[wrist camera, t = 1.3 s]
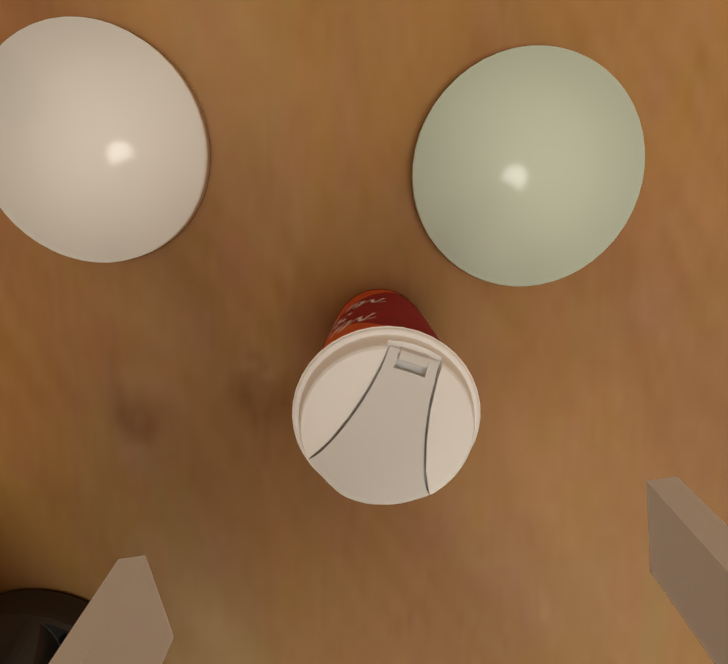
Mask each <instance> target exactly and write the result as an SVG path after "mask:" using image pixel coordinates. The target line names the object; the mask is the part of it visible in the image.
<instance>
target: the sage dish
mask: <svg viewBox="0 0 728 664" xmlns="http://www.w3.org/2000/svg"><path fill="white" fill-rule="evenodd" d="M644 167H645V146H644V137H643V132H642V128H641V124H640V119H639V117H638V114H637V112H636V109H635V107H634V104H633V103H632V101H631V99H630V98H629V96H628V94H627V92H626V91H625V89H624V88H623V87H622V86H621V84H620V83H619V82H618V81H617V79H616V78H615V77H614V76H613V75H611V74H610V73H609V72H608V71H607V70H606V69H605V68H604V67H602V66H601V65H599V64H598V63H596V62H595V61H594V60H592V59H590V58H588V57H586V56H584V55H582V54H580V53H577V52H574V51H571V50H568V49H565V48H560V47H553V46H524V47H517V48H513V49H509V50H506V51H502V52H499V53H497V54H494V55H492V56H490V57H488V58H485V59H483V60H482V61H480V62H478V63H477V64H475V65H473V66H472V67H470V68H469V69H468V70H466V71H465V72H464V73H463V74H461V75H460V76H459V77H458V78H457V79H456V80H455V81H454V82H453V83H452V84H451V85H450V86H449V87H448V88H447V89H446V90H445V91H444V92H443V93H442V95H441V96H440V97H439V98H438V100H437V101H436V102H435V104H434V105H433V107H432V108H431V110H430V112H429V113H428V115H427V117H426V119H425V121H424V123H423V125H422V128H421V130H420V132H419V135H418V138H417V142H416V145H415V149H414V154H413V161H412V177H411V181H412V191H413V198H414V202H415V206H416V210H417V213H418V215H419V218H420V221H421V223H422V225H423V227H424V229H425V231H426V233H427V235H428V236H429V237H430V239H431V240H432V242H433V243H434V244H435V246H436V247H437V248H438V249H439V250H440V251H441V252H442V253H443V254H444V255H445V256H446V257H447V258H448V259H449V260H450V261H451V262H452V263H454V264H455V265H456V266H457V267H459V268H460V269H462V270H464V271H465V272H467V273H469V274H470V275H472V276H475V277H477V278H479V279H482V280H484V281H488V282H491V283H495V284H500V285H507V286H532V285H540V284H544V283H548V282H552V281H555V280H558V279H561V278H563V277H566V276H568V275H570V274H572V273H574V272H576V271H578V270H580V269H581V268H583V267H584V266H586V265H587V264H589V263H590V262H592V261H593V260H594V259H595V258H597V257H598V256H599V255H600V254H601V253H602V252H603V251H604V250H606V248H607V247H608V246H609V245H610V244H611V243H612V242H613V241H614V240H615V238H616V237H617V236H618V234H619V233H620V231H621V230H622V229H623V227H624V226H625V224H626V222H627V220H628V219H629V217H630V215H631V213H632V211H633V209H634V206H635V204H636V201H637V199H638V196H639V192H640V189H641V185H642V181H643V174H644Z"/></svg>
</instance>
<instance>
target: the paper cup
mask: <svg viewBox="0 0 728 664" xmlns="http://www.w3.org/2000/svg"><path fill="white" fill-rule="evenodd" d="M292 420H293V428H294V432H295V436H296V439H297V442H298V445H299V447H300V449H301V451H302V453H303V455H304V456H305V458H306V459H307V460H308V462H309V463H310V465H311V466H312V467H313V468H314V469H315V470H316V471H317V472H318V473H319V474H320V475H321V476H322V477H323V478H324V479H325V480H326V482H327V483H328V484H329V485H331V486H332V487H333V488H334V489H335V490H336V491H337V492H339V493H340V494H341V495H343V496H345V497H347V498H350V499H352V500H355V501H359V502H362V503H367V504H384V505H390V504H400V503H404V502H409V501H413V500H416V499H419V498H422V497H426V496H428V495H429V494H430V495H431V494H433V493H435V492H436V491H438V490H439V489H440V488H442V487H443V486H445V485H446V484H447V483H448V482H449V481H450V480H451V479H452V478H453V477H454V476H455V475H456V474H457V472H458V471H459V470H460V469H461V467H462V466H463V464H464V462H465V460H466V459H467V457H468V455H469V452H470V450H471V448H472V446H473V445H474V442H475V439H476V436H477V433H478V429H479V423H480V401H479V396H478V390H477V388H476V385H475V382H474V380H473V377H472V375H471V374H470V372H469V370H468V369H467V367H466V365H465V364H464V363H463V361H462V360H461V359H460V358H459V357H458V356H457V354H456V353H455V352H453V351H452V350H451V349H450V348H449V347H448V346H446V345H445V344H444V343H442V342H441V341H439V339H438V338H437V336H436V335H435V333H434V332H433V330H432V329H431V327H430V326H429V324H428V323H427V322H426V320H425V319H424V317H423V316H422V315H421V313H420V312H419V311H418V309H417V308H416V307H415V306H414V305H413V304H412V303H411V302H410V301H409V300H408V299H407V298H405V297H404V296H402V295H401V294H398V293H396V292H393V291H390V290H383V289H376V290H370V291H366V292H363V293H361V294H359V295H357V296H355V297H354V298H352V299H351V300H350V301H349V302H348V303H347V304H346V305H345V306H344V308H343V309H342V310H341V312H340V314H339V315H338V317H337V319H336V321H335V323H334V325H333V327H332V329H331V331H330V333H329V335H328V337H327V340H326V342H325V344H324V346H323V348H322V350H321V351H320V352H319V353H318V354H317V355H316V356H315V357H314V358H313V360H312V361H311V362H310V363H309V364H308V366H307V367H306V369H305V371H304V372H303V374H302V375H301V378H300V380H299V383H298V385H297V387H296V391H295V395H294V399H293V408H292ZM428 491H429V493H428Z"/></svg>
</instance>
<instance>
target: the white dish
mask: <svg viewBox="0 0 728 664" xmlns="http://www.w3.org/2000/svg"><path fill="white" fill-rule="evenodd" d="M210 160H211V154H210V140H209V135H208V130H207V125H206V122H205V119H204V116H203V112H202V110H201V107H200V105H199V103H198V101H197V99H196V96H195V94H194V93H193V91H192V89H191V88H190V86H189V84H188V83H187V81H186V80H185V79H184V77H183V76H182V75H181V73H180V72H179V71H178V70H177V68H176V67H175V66H174V65H173V64H172V63H171V62H170V61H169V60H168V59H167V58H166V57H165V56H164V55H163V54H161V53H160V52H159V51H158V50H156V49H155V48H154V47H153V46H151V45H150V44H148V43H147V42H145V41H143V40H142V39H140V38H138V37H137V36H135V35H134V34H132V33H130V32H129V31H127V30H124V29H122V28H120V27H118V26H116V25H113V24H111V23H107V22H104V21H100V20H97V19H91V18H85V17H58V18H51V19H46V20H43V21H40V22H36V23H33V24H31V25H29V26H27V27H25V28H23V29H21V30H19V31H18V32H16V33H15V34H14V35H12V36H11V37H9V38H8V39H7V40H6V41H5V42H4V43H3V44H2V45H0V208H1V209H2V211H3V212H4V213H5V214H6V215H7V217H8V218H9V219H10V220H11V221H12V222H13V223H14V224H15V225H16V226H17V227H18V228H19V229H21V230H22V231H23V232H24V233H25V234H26V235H28V236H29V237H31V238H32V239H33V240H35V241H36V242H38V243H39V244H41V245H43V246H45V247H47V248H48V249H50V250H52V251H54V252H57V253H59V254H62V255H64V256H67V257H71V258H74V259H78V260H82V261H90V262H118V261H125V260H129V259H132V258H136V257H139V256H142V255H145V254H148V253H150V252H152V251H155V250H157V249H159V248H161V247H162V246H164V245H166V244H167V243H169V242H170V241H171V240H173V239H174V238H175V237H176V236H178V235H179V234H180V233H181V232H182V231H183V229H184V228H185V227H186V226H187V225H188V224H189V223H190V221H191V220H192V218H193V217H194V215H195V214H196V212H197V210H198V208H199V206H200V204H201V202H202V200H203V197H204V194H205V191H206V188H207V184H208V179H209V173H210Z"/></svg>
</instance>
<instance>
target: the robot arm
mask: <svg viewBox="0 0 728 664" xmlns="http://www.w3.org/2000/svg"><path fill="white" fill-rule="evenodd" d="M646 485H647V508H648V531H649V555H650V572H651V573H652V575H653V576H654V578H655V579H656V581H657V582H658V583H659V585H660V586H661V588H662V589H663V591H664V592H665V593H666V595H667V596H668V598H669V599H670V600H671V602H672V603H673V605H674V606H675V608H676V609H677V610H678V612H679V613H680V615H681V616H682V618H683V619H684V620H685V622H686V623H687V625H688V626H689V628H690V629H691V630H692V632H693V633H694V635H695V636H696V638H697V639H698V640H699V642H700V643H701V645H702V646H703V648H704V649H705V650H706V652H707V653H708V655H709V656H710V658H711V659H712V660H713V662H714V663H715V664H728V526H727V525H726V524H725V523H724V522H723V521H722V520H721V519H720V518H719V517H718V516H717V515H716V514H715V513H714V512H713V511H712V510H711V509H710V508H709V507H708V506H707V505H706V504H705V503H704V502H703V501H702V500H701V499H700V498H699V497H698V496H697V495H696V494H695V493H694V492H693V491H692V490H691V489H690V488H689V487H688V486H687V485H686V484H685V483H684V482H683V481H682V480H681V479H680V478H679V477H678V476H677V477H670V478H663V479H656V480H650V481H646ZM173 638H174V635H173V632H172V630H171V627H170V624H169V621H168V618H167V615H166V613H165V610H164V607H163V604H162V601H161V598H160V595H159V593H158V590H157V587H156V584H155V581H154V578H153V575H152V573H151V570H150V567H149V564H148V561H147V558H146V555H143V556H136V557H130V558H123V559H118V560H117V562H116V563H115V565H114V566H113V568H112V569H111V571H110V572H109V574H108V575H107V577H106V578H105V580H104V581H103V583H102V584H101V586H100V587H99V589H98V590H97V592H96V593H95V595H94V596H93V598H92V599H91V601H90V602H86V601H84V600H82V599H79V598H76V597H74V596H70V595H67V594H63V593H59V592H53V591H46V590H18V591H12V592H7V593H3V594H0V664H163V661H164V659H165V657H166V654H167V652H168V650H169V647H170V645H171V643H172V640H173Z"/></svg>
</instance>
